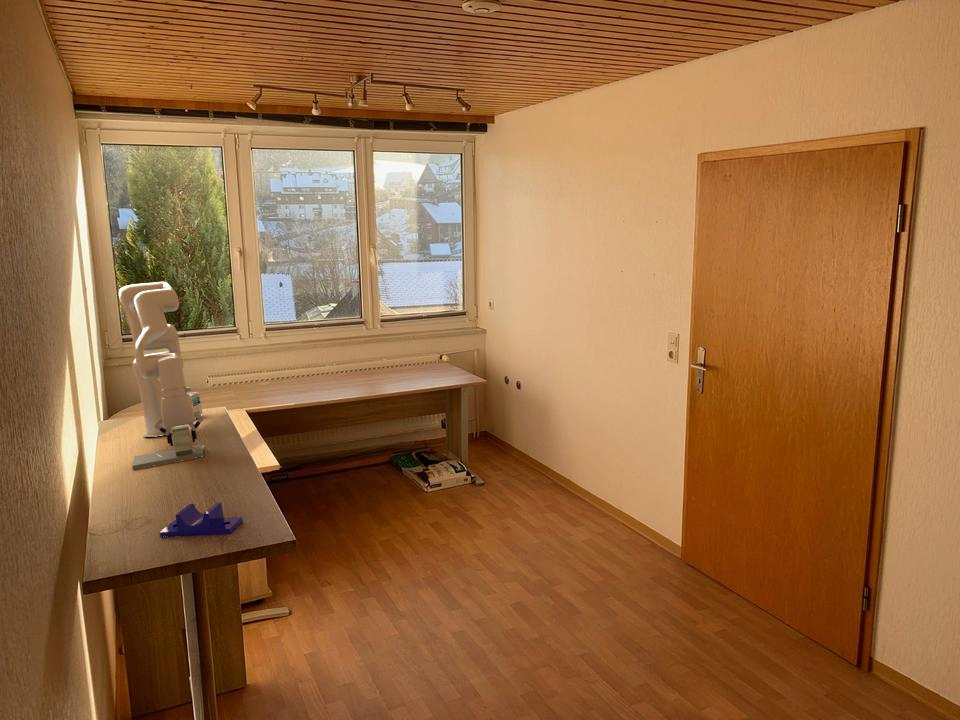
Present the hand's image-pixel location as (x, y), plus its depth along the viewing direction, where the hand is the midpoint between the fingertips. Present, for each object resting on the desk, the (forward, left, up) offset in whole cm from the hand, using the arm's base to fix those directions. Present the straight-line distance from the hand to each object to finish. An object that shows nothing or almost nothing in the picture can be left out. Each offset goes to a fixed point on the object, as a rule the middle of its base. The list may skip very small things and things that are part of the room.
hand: (182, 443), depth 244 cm
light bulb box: (-61, +1, -5) cm, 61 cm away
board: (0, -5, -5) cm, 7 cm away
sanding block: (0, 0, -3) cm, 3 cm away
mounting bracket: (+75, +4, -5) cm, 75 cm away
